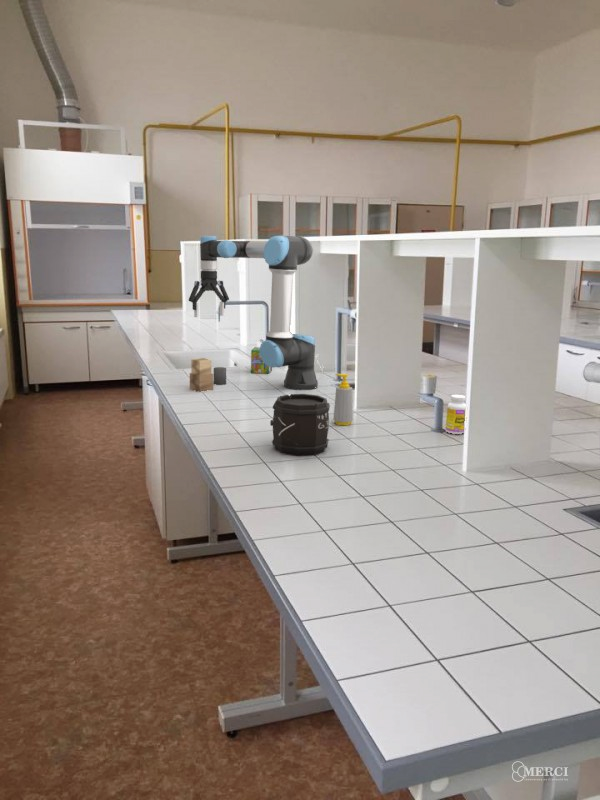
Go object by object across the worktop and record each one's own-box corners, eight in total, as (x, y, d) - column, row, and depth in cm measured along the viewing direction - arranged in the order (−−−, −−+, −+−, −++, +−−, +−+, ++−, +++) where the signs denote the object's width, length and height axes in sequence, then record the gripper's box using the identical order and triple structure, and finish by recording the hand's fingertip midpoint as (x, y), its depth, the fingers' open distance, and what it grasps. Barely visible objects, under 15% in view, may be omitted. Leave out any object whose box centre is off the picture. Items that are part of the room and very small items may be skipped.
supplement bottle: (453, 435, 228) (455, 398, 225) (441, 430, 234) (444, 394, 231) (469, 434, 231) (472, 397, 228) (457, 429, 237) (460, 393, 234)
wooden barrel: (274, 438, 220) (274, 391, 216) (329, 441, 218) (331, 394, 214) (266, 455, 202) (267, 404, 199) (326, 458, 201) (328, 407, 197)
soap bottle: (332, 420, 244) (334, 371, 240) (352, 421, 244) (354, 372, 240) (333, 425, 237) (334, 375, 233) (352, 426, 237) (355, 376, 233)
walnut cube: (213, 390, 289) (212, 373, 287) (199, 392, 284) (199, 375, 283) (203, 387, 294) (202, 371, 292) (189, 389, 289) (189, 373, 287)
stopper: (228, 383, 302) (228, 368, 301) (218, 385, 298) (218, 369, 297) (220, 381, 306) (220, 366, 304) (211, 383, 302) (210, 368, 300)
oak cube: (211, 373, 287) (211, 359, 286) (199, 375, 283) (199, 361, 282) (202, 371, 292) (202, 358, 290) (191, 373, 287) (191, 359, 286)
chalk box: (254, 370, 336) (254, 340, 333) (272, 371, 335) (272, 341, 332) (250, 373, 327) (250, 343, 324) (268, 374, 326) (269, 344, 323)
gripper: (227, 269, 322) (228, 314, 327) (180, 270, 307) (181, 316, 312) (236, 270, 316) (236, 315, 321) (188, 270, 301) (189, 318, 306)
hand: (209, 316), depth 316 cm, fingers open, 13 cm apart
